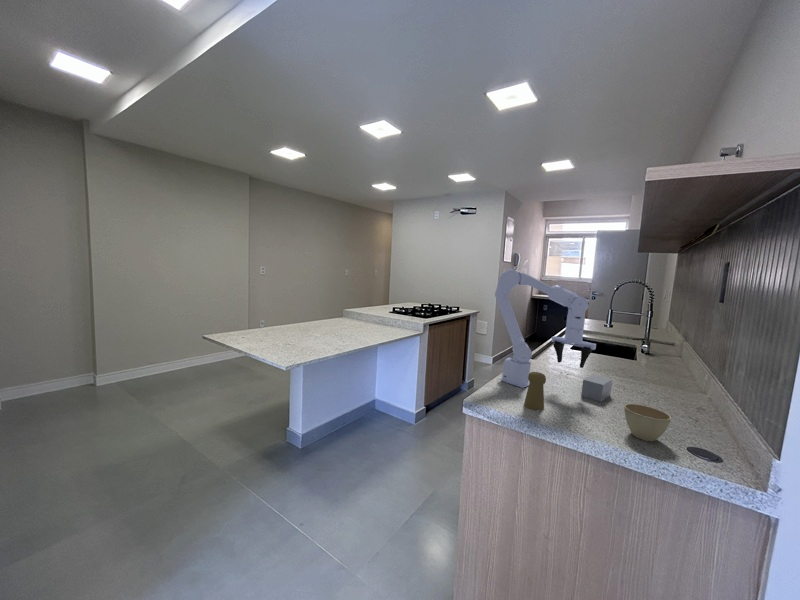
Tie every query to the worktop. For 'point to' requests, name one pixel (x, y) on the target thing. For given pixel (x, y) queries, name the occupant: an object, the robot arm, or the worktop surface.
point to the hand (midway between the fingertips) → (570, 364)
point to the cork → (535, 391)
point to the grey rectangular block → (596, 387)
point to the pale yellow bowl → (646, 421)
